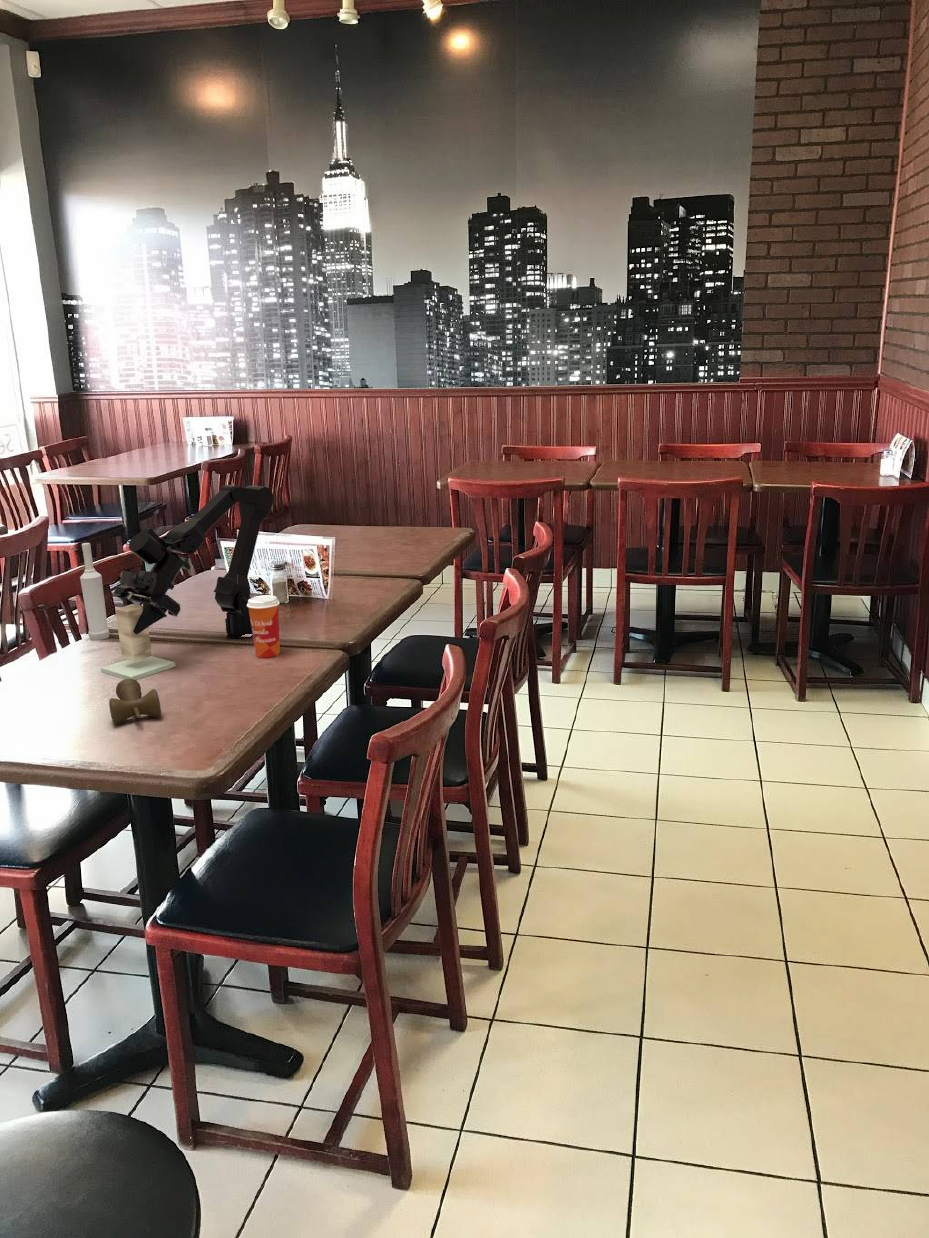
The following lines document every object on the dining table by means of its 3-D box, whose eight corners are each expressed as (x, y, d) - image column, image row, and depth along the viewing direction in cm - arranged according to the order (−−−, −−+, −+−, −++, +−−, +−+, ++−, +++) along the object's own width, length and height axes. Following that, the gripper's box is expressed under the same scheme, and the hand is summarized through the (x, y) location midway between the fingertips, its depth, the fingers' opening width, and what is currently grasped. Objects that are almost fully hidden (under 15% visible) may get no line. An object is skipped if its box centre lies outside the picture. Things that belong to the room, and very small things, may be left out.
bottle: (114, 635, 262) (101, 542, 255) (99, 641, 258) (85, 546, 251) (99, 633, 264) (85, 541, 257) (84, 639, 260) (70, 545, 253)
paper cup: (245, 658, 240) (239, 601, 236) (263, 648, 246) (257, 593, 242) (273, 660, 237) (267, 603, 233) (290, 651, 243) (285, 595, 240)
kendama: (153, 697, 217) (166, 726, 200) (107, 706, 214) (115, 736, 196) (149, 671, 216) (161, 697, 198) (102, 680, 212) (110, 707, 194)
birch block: (139, 652, 237) (133, 603, 234) (152, 656, 234) (145, 606, 231) (122, 658, 233) (115, 608, 230) (134, 661, 231) (127, 611, 227)
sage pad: (145, 658, 243) (144, 654, 242) (175, 666, 235) (175, 662, 235) (101, 672, 234) (100, 667, 233) (131, 681, 226) (131, 677, 226)
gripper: (114, 552, 236) (79, 608, 230) (163, 560, 225) (127, 619, 219) (147, 577, 244) (114, 632, 239) (195, 586, 233) (162, 644, 228)
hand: (128, 631), depth 231 cm, fingers closed on birch block, 5 cm apart
